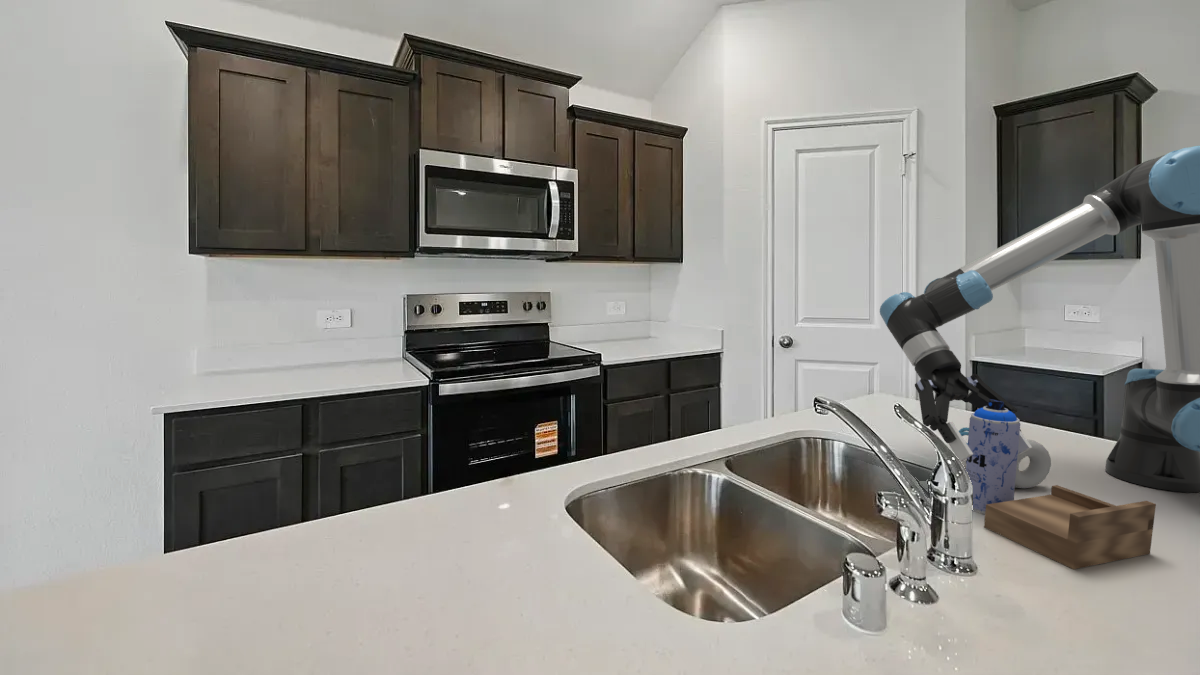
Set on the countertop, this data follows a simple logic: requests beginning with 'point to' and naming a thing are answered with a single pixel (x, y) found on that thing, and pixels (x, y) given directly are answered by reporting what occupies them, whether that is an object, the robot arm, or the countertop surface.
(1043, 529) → the shelf step
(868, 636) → the countertop surface
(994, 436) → the aerosol can
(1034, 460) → the donut
